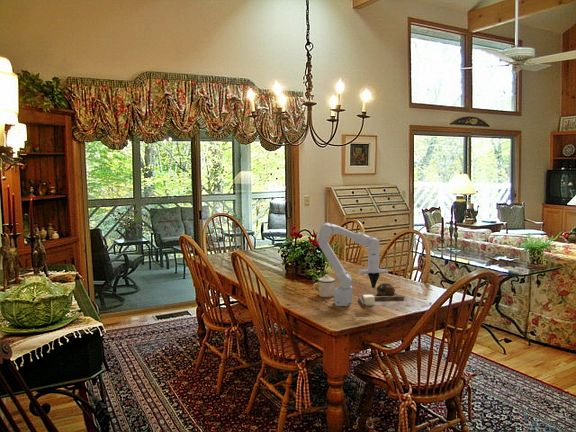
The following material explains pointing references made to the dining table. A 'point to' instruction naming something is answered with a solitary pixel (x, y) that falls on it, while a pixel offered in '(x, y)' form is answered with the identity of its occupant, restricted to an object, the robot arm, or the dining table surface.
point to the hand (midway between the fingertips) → (373, 287)
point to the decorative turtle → (385, 290)
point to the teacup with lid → (325, 286)
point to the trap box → (385, 301)
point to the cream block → (369, 299)
